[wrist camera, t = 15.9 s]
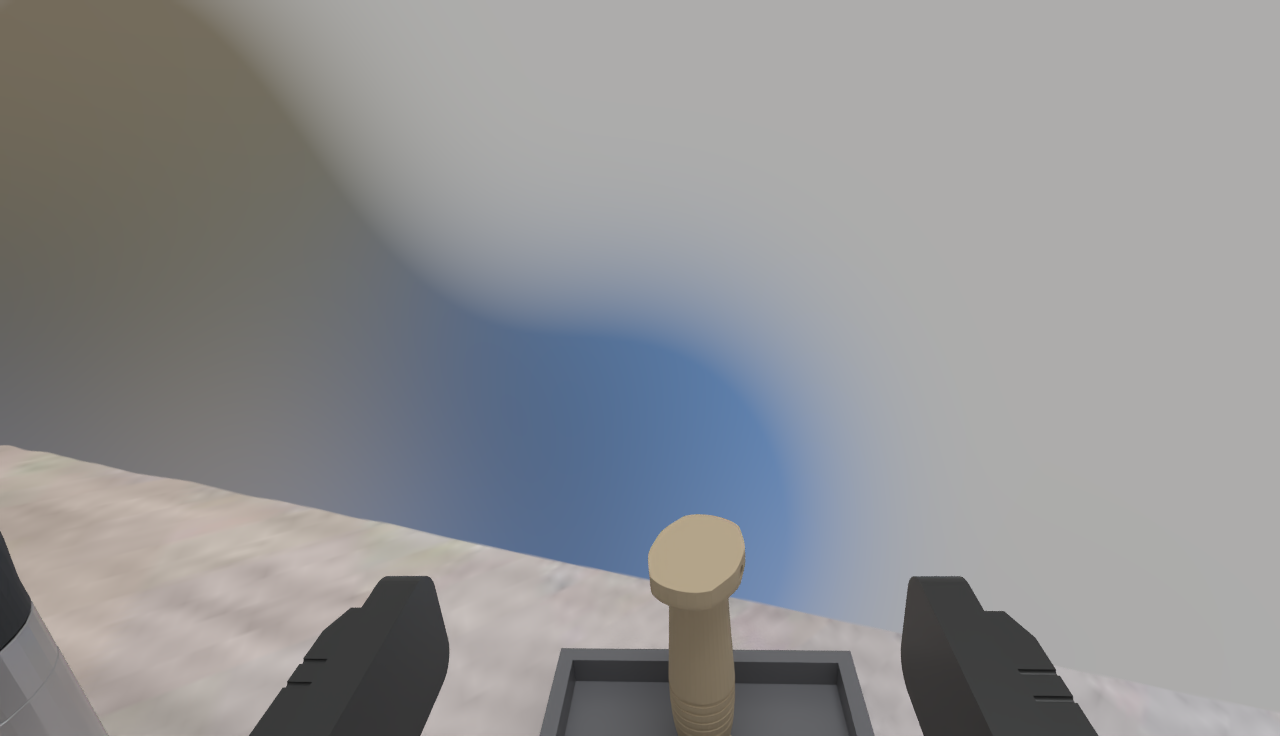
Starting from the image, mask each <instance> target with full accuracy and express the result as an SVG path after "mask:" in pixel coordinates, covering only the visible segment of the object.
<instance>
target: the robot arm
mask: <svg viewBox="0 0 1280 736" xmlns="http://www.w3.org/2000/svg"><path fill="white" fill-rule="evenodd" d="M448 663H449V642H448V637H447V633H446V629H445V625H444V621H443V617H442V613H441V609H440V605H439V601H438V597H437V593H436V589H435V586H434V583H433V581H432V579H431V578H430V577H428V576H387V577H384V578H382V579H381V580H380V581H379V582H378V584H377V585H376V586H375V588H374V589H373V591H372V593H371V594H370V596H369V597H368V599H367V600H366V602H365V603H364V605H363V606H362V608H350V609H349V610H348V611H346V612H345V613H344V614H343V615H342V616H340V617H339V618H338V619H337V620H336V621H334V622H333V623H332V624H331V625H330V626H328V627H327V628H326V629H325V630H324V631H323V632H322V633H321V635H320V636H319V637H318V639H317V640H316V642H315V643H314V644H313V646H312V647H311V649H310V650H309V652H308V653H307V654H306V656H305V657H304V662H303V664H299V666H298V667H297V668H296V670H295V671H294V673H293V674H292V676H291V677H290V678H289V680H288V681H287V687H286V688H282V690H281V691H280V693H279V694H278V695H277V697H276V698H275V700H274V701H273V702H272V704H271V705H270V707H269V708H268V710H267V711H266V712H265V714H264V715H263V717H262V718H261V719H260V721H259V722H258V724H257V725H256V726H255V728H254V729H253V731H252V732H251V734H250V735H249V736H420V735H421V733H422V731H423V728H424V726H425V724H426V721H427V719H428V717H429V714H430V712H431V710H432V708H433V705H434V703H435V701H436V698H437V696H438V694H439V691H440V689H441V687H442V685H443V682H444V680H445V677H446V673H447V669H448ZM901 663H902V671H903V676H904V680H905V684H906V688H907V691H908V694H909V696H910V699H911V702H912V705H913V707H914V710H915V713H916V716H917V718H918V721H919V724H920V727H921V729H922V732H923V735H924V736H1098V734H1097V733H1096V731H1095V730H1094V728H1093V727H1092V725H1091V724H1090V722H1089V720H1088V719H1087V717H1086V716H1085V714H1084V713H1083V711H1082V710H1081V708H1080V706H1079V705H1078V703H1074V701H1073V696H1072V694H1071V692H1070V691H1069V689H1068V688H1067V686H1066V685H1065V683H1064V682H1063V680H1062V678H1061V677H1060V676H1057V674H1056V669H1055V668H1054V666H1053V664H1052V663H1051V661H1050V660H1049V658H1048V657H1047V655H1046V654H1045V652H1044V650H1043V649H1042V647H1041V646H1040V644H1039V643H1038V641H1037V640H1036V638H1035V637H1034V636H1033V635H1031V634H1030V633H1029V632H1028V631H1027V630H1025V629H1024V628H1023V627H1022V626H1021V625H1020V624H1018V623H1017V622H1016V621H1015V620H1013V618H1011V617H1010V616H1009V615H1008V614H1007V613H1005V612H1004V611H984V610H983V608H982V606H981V605H980V603H979V601H978V599H977V598H976V596H975V594H974V592H973V591H972V589H971V587H970V586H969V584H968V582H967V581H966V580H965V579H964V578H963V577H960V576H948V577H947V576H945V577H944V576H941V577H940V576H934V577H933V576H931V577H930V576H929V577H928V576H926V577H925V576H924V577H923V576H921V577H912V578H911V579H910V580H909V584H908V591H907V599H906V608H905V616H904V625H903V634H902V642H901ZM0 736H109V735H108V734H107V732H106V730H105V728H104V727H103V725H102V723H101V721H100V720H99V718H98V716H97V714H96V713H95V711H94V709H93V707H92V706H91V704H90V702H89V700H88V698H87V697H86V695H85V693H84V691H83V690H82V688H81V686H80V684H79V683H78V681H77V679H76V677H75V676H74V674H73V672H72V670H71V669H70V667H69V665H68V663H67V661H66V660H65V658H64V656H63V654H62V653H61V651H60V649H59V647H58V646H57V645H56V643H55V641H54V639H53V638H52V636H51V634H50V632H49V631H48V629H47V627H46V625H45V623H44V622H43V620H42V618H41V616H40V615H39V613H38V611H37V609H36V608H35V606H34V604H33V602H32V601H31V599H30V597H29V595H28V593H27V592H26V590H25V588H24V586H23V585H22V583H21V581H20V579H19V577H18V575H17V572H16V570H15V567H14V564H13V562H12V559H11V556H10V554H9V551H8V548H7V546H6V543H5V541H4V538H3V536H2V534H1V532H0Z"/></svg>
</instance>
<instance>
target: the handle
mask: <svg viewBox="0 0 1280 736" xmlns="http://www.w3.org/2000/svg"><path fill="white" fill-rule="evenodd" d="M648 564H649V576H650V586H651V592H652V594H653V595H654V596H655V597H656V598H657V599H658V600H659V601H661V602H662V603H664V604H666V605H669V689H670V701H671V707H672V714H673V719H674V723H675V727H676V730H677V733H678V736H731V735H730V733H731V729H732V724H733V717H734V703H735V671H734V660H733V649H732V638H731V627H730V614H729V601H728V598H729V597H730V596H731V595H732V594H733V593H734V592H735V591H736V590H737V588H738V587H739V585H740V583H741V579H742V575H743V571H744V567H745V545H744V540H743V536H742V533H741V531H740V528H739V526H738V525H736V524H735V523H733V522H731V521H729V520H727V519H724V518H721V517H716V516H711V515H699V514H696V515H688V516H683V517H682V518H680V519H679V520H677V521H675V522H674V523H672V524H671V525H669V526H667V527H666V528H665V529H664V530H662V531H661V533H660V534H659V535H658V537H657V538H656V540H655V542H654V544H653V545H652V547H651V549H650V551H649V555H648Z"/></svg>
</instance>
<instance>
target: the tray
mask: <svg viewBox="0 0 1280 736" xmlns="http://www.w3.org/2000/svg"><path fill="white" fill-rule="evenodd" d="M733 660H734V671H735V703H734V717H733V724H732V729H731V733H730V735H731V736H874V732H873V729H872V725H871V722H870V718H869V715H868V711H867V708H866V704H865V701H864V697H863V694H862V691H861V687H860V684H859V680H858V677H857V673H856V670H855V666H854V663H853V659H852V656H851V652H850V651H799V650H733ZM540 736H678V733H677V730H676V727H675V723H674V719H673V714H672V707H671V701H670V689H669V649H575V648H561V652H560V656H559V660H558V664H557V668H556V672H555V676H554V680H553V684H552V688H551V692H550V696H549V700H548V704H547V708H546V713H545V717H544V721H543V725H542V729H541V733H540Z"/></svg>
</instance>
